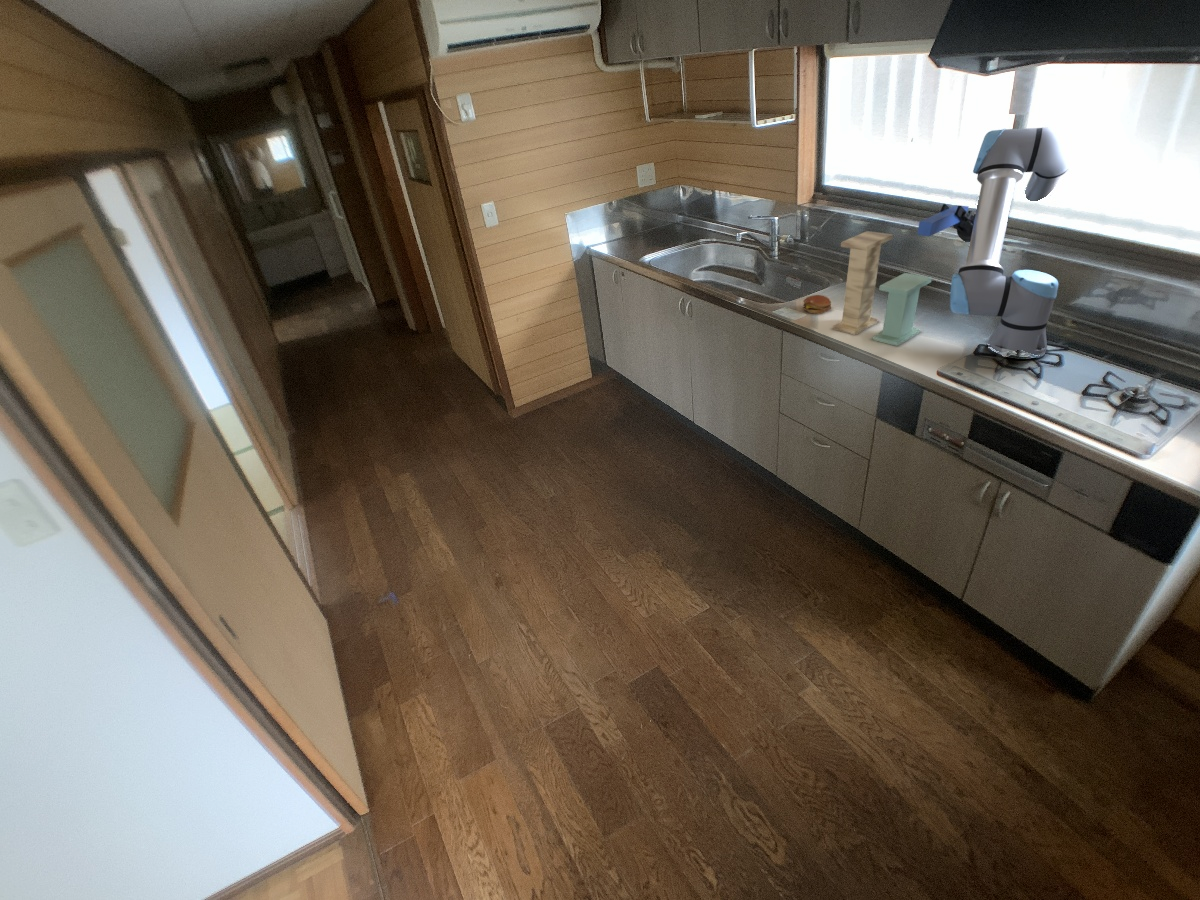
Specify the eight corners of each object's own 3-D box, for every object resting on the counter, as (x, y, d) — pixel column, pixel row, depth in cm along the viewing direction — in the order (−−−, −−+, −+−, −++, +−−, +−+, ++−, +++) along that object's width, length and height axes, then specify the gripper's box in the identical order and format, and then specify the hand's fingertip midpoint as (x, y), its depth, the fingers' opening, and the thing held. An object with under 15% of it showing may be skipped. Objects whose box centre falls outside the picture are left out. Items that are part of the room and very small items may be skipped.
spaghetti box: (953, 217, 201) (956, 205, 199) (965, 219, 198) (968, 206, 196) (917, 234, 190) (919, 221, 188) (929, 236, 187) (932, 222, 185)
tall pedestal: (855, 316, 220) (867, 231, 203) (879, 321, 214) (892, 234, 197) (831, 329, 212) (841, 242, 196) (854, 335, 206) (866, 246, 190)
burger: (832, 306, 230) (834, 294, 227) (827, 315, 223) (828, 302, 221) (806, 304, 234) (807, 292, 232) (799, 312, 228) (800, 300, 225)
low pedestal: (895, 325, 209) (904, 272, 199) (921, 332, 203) (932, 277, 193) (871, 340, 202) (879, 285, 192) (897, 346, 196) (907, 291, 186)
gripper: (993, 246, 204) (973, 224, 188) (942, 239, 216) (918, 218, 200) (1003, 223, 203) (983, 199, 187) (951, 217, 214) (928, 194, 198)
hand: (950, 209), depth 193 cm, fingers closed on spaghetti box, 4 cm apart
